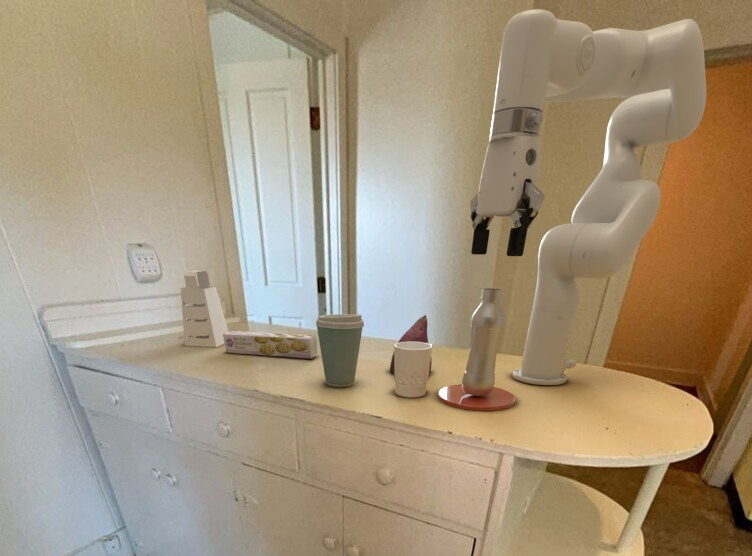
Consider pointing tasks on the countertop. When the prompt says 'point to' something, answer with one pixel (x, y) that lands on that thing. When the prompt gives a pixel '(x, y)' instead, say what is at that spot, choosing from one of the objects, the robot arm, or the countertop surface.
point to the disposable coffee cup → (340, 347)
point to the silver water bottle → (484, 344)
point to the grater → (202, 312)
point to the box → (271, 344)
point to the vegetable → (414, 337)
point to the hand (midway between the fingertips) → (495, 255)
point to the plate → (476, 399)
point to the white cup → (411, 368)
